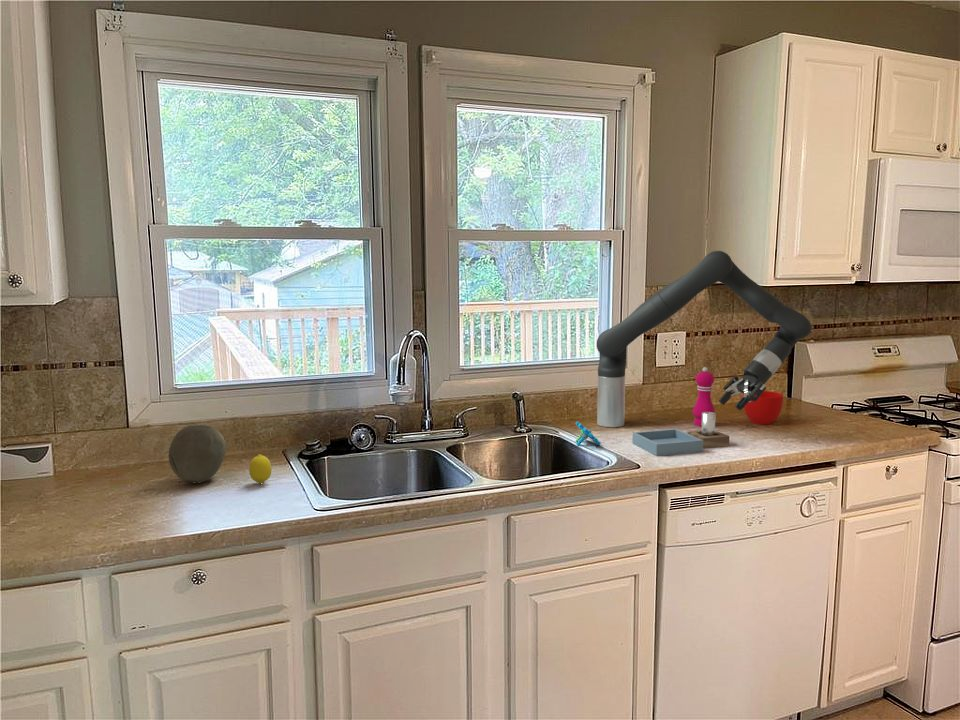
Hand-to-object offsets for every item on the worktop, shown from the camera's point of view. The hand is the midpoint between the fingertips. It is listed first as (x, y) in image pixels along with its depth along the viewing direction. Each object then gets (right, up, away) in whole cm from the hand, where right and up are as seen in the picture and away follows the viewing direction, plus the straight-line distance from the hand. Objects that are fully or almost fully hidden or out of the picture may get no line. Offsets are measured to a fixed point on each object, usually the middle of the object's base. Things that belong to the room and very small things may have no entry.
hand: (729, 405), depth 219 cm
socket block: (-7, -12, 0) cm, 13 cm away
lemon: (-135, -19, -34) cm, 140 cm away
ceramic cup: (+21, -7, +28) cm, 36 cm away
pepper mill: (0, -8, +24) cm, 25 cm away
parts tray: (-21, -12, -4) cm, 24 cm away
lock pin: (-7, -12, 0) cm, 13 cm away
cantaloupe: (-152, -18, -31) cm, 156 cm away
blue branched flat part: (-44, -12, 0) cm, 46 cm away
